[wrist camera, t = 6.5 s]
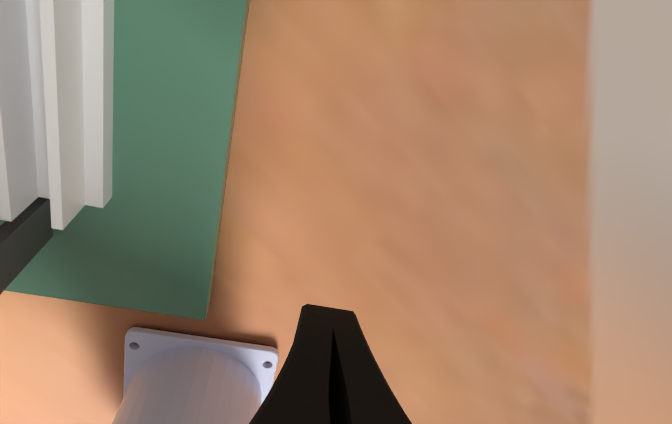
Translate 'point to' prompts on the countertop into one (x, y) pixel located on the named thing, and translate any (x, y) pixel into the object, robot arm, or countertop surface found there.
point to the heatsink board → (116, 148)
